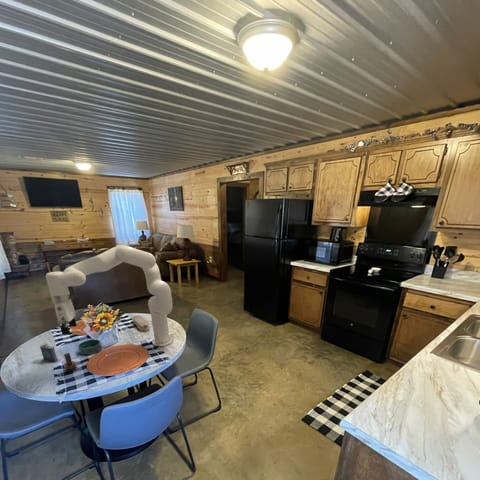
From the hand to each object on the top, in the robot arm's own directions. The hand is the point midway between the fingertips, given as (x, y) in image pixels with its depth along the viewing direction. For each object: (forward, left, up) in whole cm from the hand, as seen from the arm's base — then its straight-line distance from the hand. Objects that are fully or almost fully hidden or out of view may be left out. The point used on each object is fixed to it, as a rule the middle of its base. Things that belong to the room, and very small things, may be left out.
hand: (69, 330), depth 132 cm
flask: (+2, -28, -25) cm, 37 cm away
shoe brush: (-58, -22, -22) cm, 66 cm away
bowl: (-17, -19, -25) cm, 35 cm away
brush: (+1, -8, -25) cm, 26 cm away
